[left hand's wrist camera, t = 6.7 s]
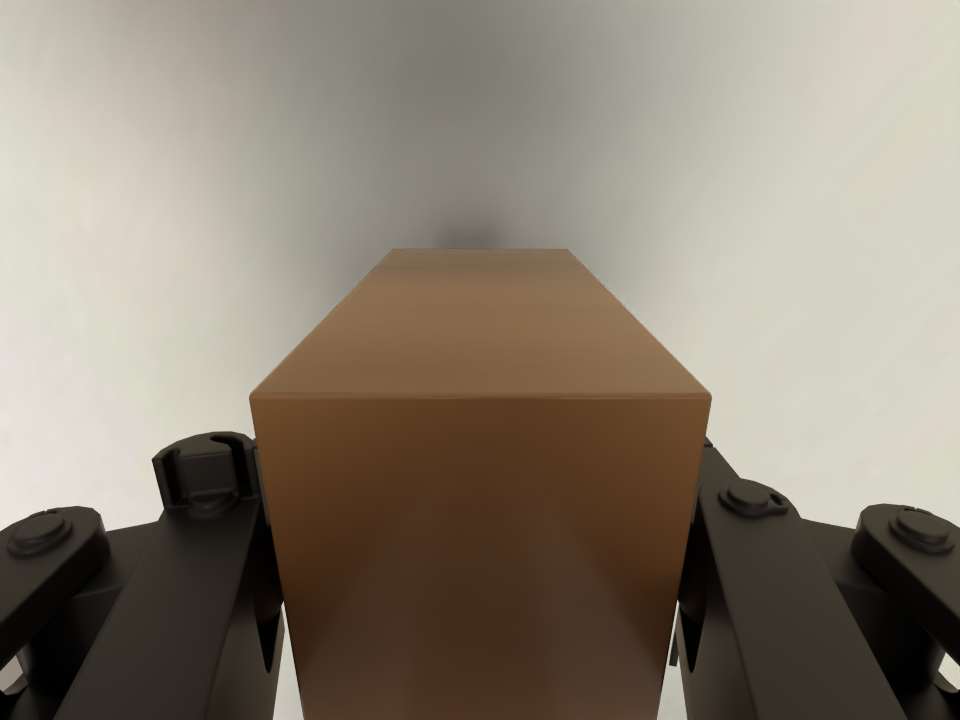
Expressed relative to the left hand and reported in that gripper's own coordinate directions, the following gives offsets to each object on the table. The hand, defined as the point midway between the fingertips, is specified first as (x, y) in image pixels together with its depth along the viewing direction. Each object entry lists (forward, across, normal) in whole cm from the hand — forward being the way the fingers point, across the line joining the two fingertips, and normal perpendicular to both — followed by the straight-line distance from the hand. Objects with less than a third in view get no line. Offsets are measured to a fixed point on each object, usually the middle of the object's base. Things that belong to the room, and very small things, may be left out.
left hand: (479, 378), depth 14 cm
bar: (+1, 0, -10) cm, 10 cm away
